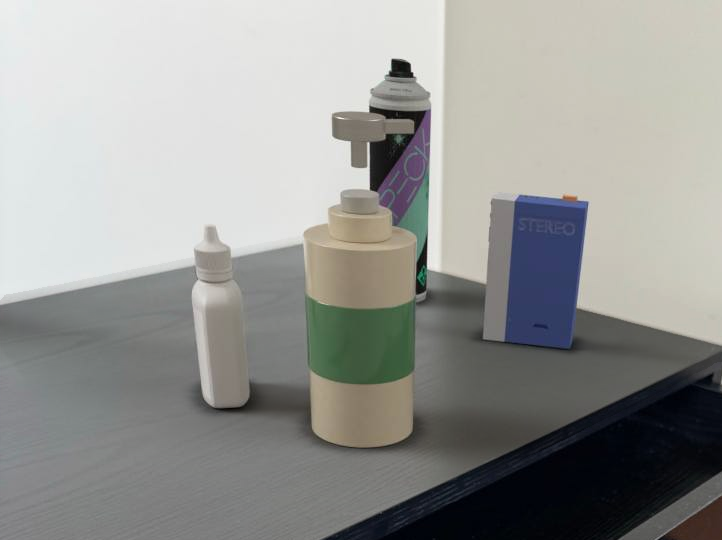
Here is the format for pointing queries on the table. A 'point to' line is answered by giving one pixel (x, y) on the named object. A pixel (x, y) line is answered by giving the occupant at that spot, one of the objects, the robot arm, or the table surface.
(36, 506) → the table surface
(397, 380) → the soap bottle
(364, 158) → the pump
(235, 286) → the eye dropper bottle
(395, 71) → the spray can
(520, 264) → the walkman
